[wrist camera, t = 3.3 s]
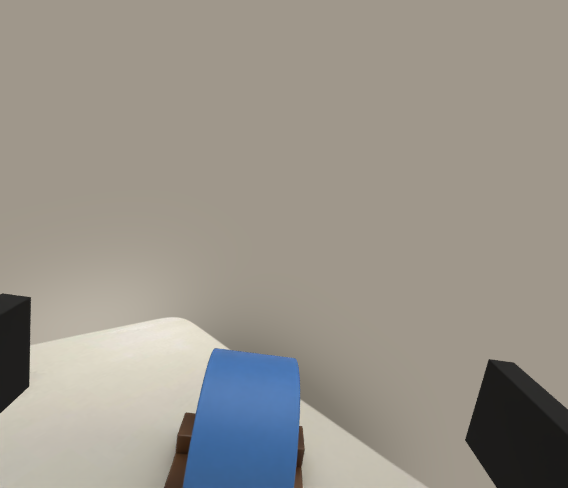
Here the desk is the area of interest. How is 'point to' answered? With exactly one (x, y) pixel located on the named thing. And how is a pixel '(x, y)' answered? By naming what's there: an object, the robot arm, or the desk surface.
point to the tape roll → (245, 423)
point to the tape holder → (182, 448)
